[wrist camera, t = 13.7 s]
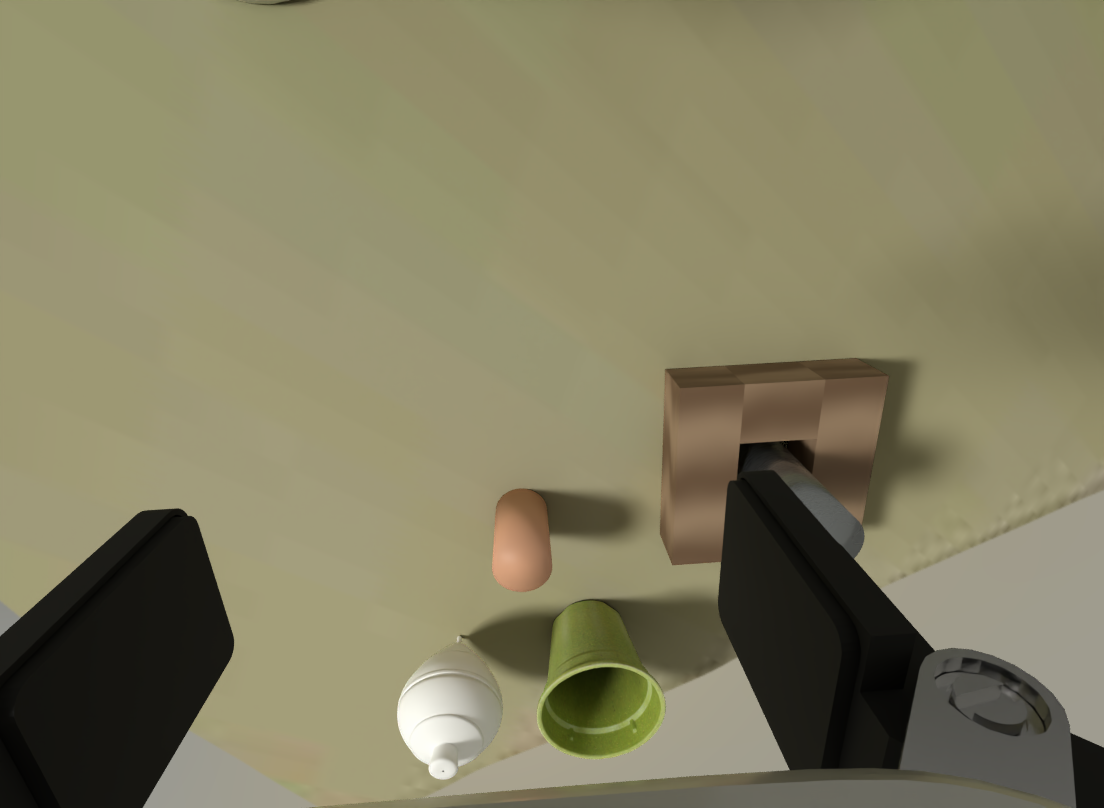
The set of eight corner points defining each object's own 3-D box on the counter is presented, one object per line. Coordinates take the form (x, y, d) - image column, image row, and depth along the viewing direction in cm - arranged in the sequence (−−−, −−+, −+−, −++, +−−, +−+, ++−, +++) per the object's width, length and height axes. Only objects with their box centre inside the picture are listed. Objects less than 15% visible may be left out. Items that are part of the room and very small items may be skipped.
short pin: (493, 490, 44) (489, 544, 38) (545, 487, 44) (550, 540, 38) (497, 534, 46) (494, 593, 39) (548, 530, 46) (553, 589, 39)
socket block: (665, 369, 41) (679, 388, 38) (856, 358, 42) (889, 375, 38) (660, 534, 47) (672, 565, 43) (829, 522, 47) (856, 552, 43)
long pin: (727, 428, 43) (799, 515, 32) (779, 425, 44) (869, 510, 32) (723, 475, 45) (791, 573, 34) (773, 472, 45) (858, 569, 34)
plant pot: (637, 575, 48) (662, 655, 40) (645, 660, 51) (669, 750, 43) (526, 590, 48) (528, 674, 40) (541, 675, 51) (546, 768, 43)
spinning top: (519, 617, 49) (520, 748, 38) (483, 680, 51) (473, 821, 40) (434, 588, 47) (408, 716, 36) (401, 655, 50) (367, 794, 39)
